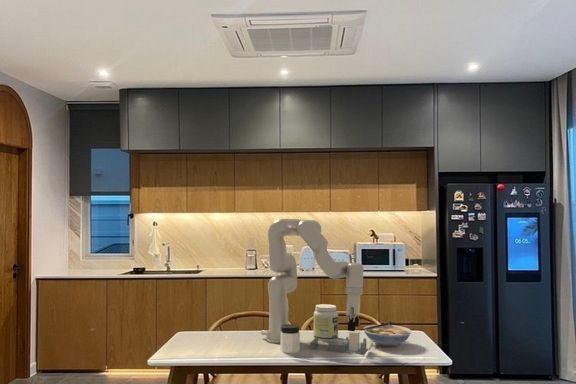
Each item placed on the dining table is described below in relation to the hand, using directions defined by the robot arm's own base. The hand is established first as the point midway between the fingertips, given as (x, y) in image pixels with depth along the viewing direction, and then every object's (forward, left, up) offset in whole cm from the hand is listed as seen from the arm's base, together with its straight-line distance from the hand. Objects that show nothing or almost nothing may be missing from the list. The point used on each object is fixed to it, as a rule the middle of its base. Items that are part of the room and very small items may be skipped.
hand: (353, 328), depth 227 cm
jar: (-27, -11, -11) cm, 31 cm away
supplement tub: (-17, +17, -11) cm, 26 cm away
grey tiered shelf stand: (-7, 0, -11) cm, 13 cm away
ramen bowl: (+13, +18, -11) cm, 25 cm away
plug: (+1, 0, -9) cm, 9 cm away
